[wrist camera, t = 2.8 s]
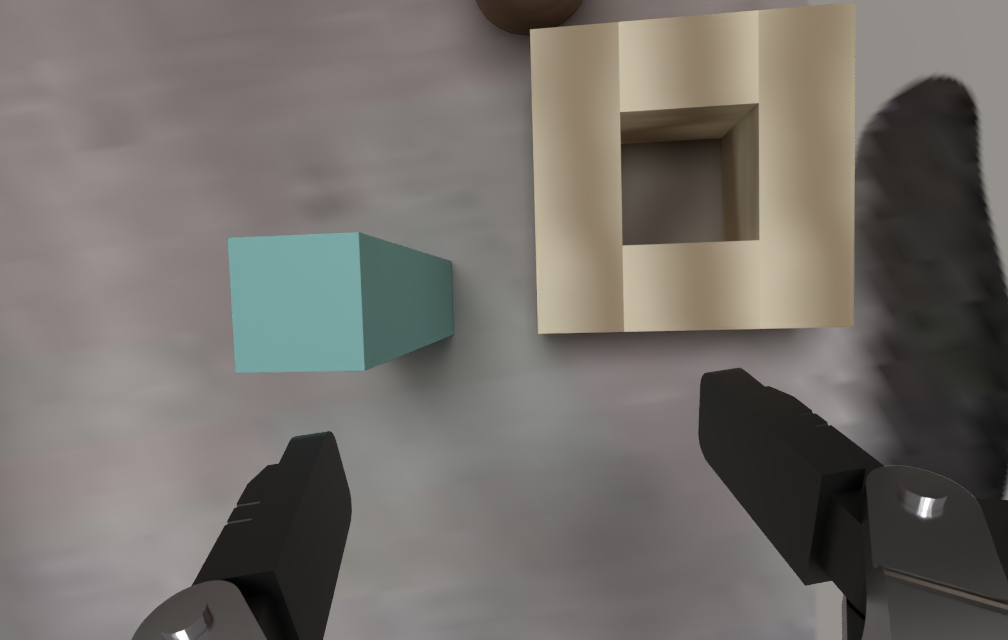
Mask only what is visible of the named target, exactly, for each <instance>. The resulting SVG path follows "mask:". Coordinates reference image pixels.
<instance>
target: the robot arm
mask: <svg viewBox="0 0 1008 640" xmlns="http://www.w3.org/2000/svg"><path fill="white" fill-rule="evenodd" d="M698 433H699V443H700V447H701V450H702V453H703V455H704V457H705V459H706V461H707V462H708V463H709V465H710V466H711V467H712V469H713V470H714V471H715V472H716V474H717V475H718V476H719V477H720V479H721V480H722V481H723V482H724V484H725V485H726V486H727V487H728V489H729V490H730V491H731V492H732V494H733V495H734V496H735V498H736V499H737V500H738V501H739V503H740V504H741V505H742V506H743V508H744V509H745V510H746V511H747V513H748V514H749V515H750V516H751V518H752V519H753V520H754V522H755V523H756V524H757V525H758V527H759V528H760V529H761V530H762V532H763V533H764V534H765V535H766V537H767V538H768V539H769V540H770V542H771V543H772V544H773V545H774V547H775V548H776V549H777V551H778V552H779V553H780V554H781V556H782V557H783V558H784V559H785V561H786V562H787V563H788V564H789V566H790V567H791V568H792V569H793V571H794V572H795V573H796V574H797V576H798V577H799V578H800V580H801V581H802V582H803V583H804V585H811V584H816V583H822V582H826V581H833V582H834V583H835V585H837V587H838V588H839V589H840V590H841V591H842V592H843V594H844V595H843V601H842V640H1008V500H995V499H980V498H975V497H974V496H973V495H972V494H971V493H969V492H968V491H967V490H966V489H964V488H963V487H962V486H960V485H958V484H957V483H955V482H953V481H951V480H949V479H947V478H945V477H943V476H941V475H938V474H935V473H933V472H929V471H926V470H923V469H918V468H914V467H907V466H884V465H882V464H881V463H880V462H879V461H877V460H876V459H875V458H873V457H872V456H871V455H869V454H868V453H867V452H865V451H864V450H863V449H862V448H860V447H859V446H858V445H856V444H855V443H854V442H852V441H851V440H850V439H848V438H847V437H846V436H845V435H843V434H842V433H841V432H839V431H838V430H837V429H835V428H834V427H833V426H831V425H830V426H828V424H827V422H826V421H825V420H824V419H822V418H821V417H820V416H818V415H817V414H816V413H815V414H813V413H812V410H811V409H809V408H808V407H807V406H805V405H804V404H803V403H801V402H800V401H799V400H797V399H796V398H795V397H793V396H791V395H789V394H786V393H784V392H782V391H779V390H777V389H775V388H772V387H770V386H767V387H765V386H763V385H762V384H761V383H760V382H758V381H757V380H756V379H755V378H753V377H752V376H751V375H750V374H748V373H747V372H746V371H745V370H743V369H741V368H734V369H728V370H721V371H715V372H708V373H705V374H704V375H703V376H702V379H701V384H700V407H699V431H698ZM351 513H352V507H351V495H350V490H349V487H348V483H347V479H346V476H345V472H344V468H343V465H342V461H341V457H340V454H339V450H338V446H337V443H336V439H335V437H334V435H333V433H332V432H330V431H328V432H322V433H315V434H309V435H302V436H295V437H293V438H292V439H291V440H290V442H289V444H288V446H287V448H286V450H285V452H284V454H283V456H282V458H281V460H280V462H279V464H274V465H267V466H266V467H265V468H264V469H263V470H262V471H261V472H260V473H259V474H258V475H257V476H256V477H255V478H254V479H253V480H251V481H250V482H249V483H248V484H247V486H246V488H245V490H244V492H243V493H242V495H241V497H240V499H239V501H238V503H237V508H234V510H233V512H232V513H231V515H230V517H229V519H228V521H227V522H228V524H227V525H225V526H224V528H223V530H222V532H221V534H220V535H219V537H218V539H217V541H216V543H215V544H214V546H213V548H212V550H211V552H210V554H209V555H208V557H207V559H206V561H205V563H204V564H203V566H202V568H201V570H200V572H199V574H198V575H197V577H196V579H195V581H194V583H193V584H192V586H191V587H189V588H186V589H184V590H182V591H181V592H179V593H177V594H175V595H174V596H172V597H170V598H169V599H167V600H166V601H165V602H163V603H162V604H161V605H159V606H158V607H157V608H156V609H155V610H154V611H153V612H152V613H151V614H150V615H149V616H148V617H147V618H146V619H145V620H144V621H143V622H142V624H141V625H140V626H139V628H138V629H137V631H136V632H135V634H134V636H133V638H132V640H323V637H324V633H325V629H326V625H327V620H328V616H329V612H330V608H331V603H332V599H333V595H334V590H335V586H336V582H337V578H338V573H339V569H340V565H341V561H342V556H343V552H344V548H345V544H346V539H347V535H348V531H349V527H350V522H351Z"/></svg>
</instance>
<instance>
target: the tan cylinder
mask: <svg viewBox="0 0 1008 640" xmlns="http://www.w3.org/2000/svg"><path fill="white" fill-rule="evenodd" d="M476 2H477V4H478V6H479V8H480V9H481V11H482V12H483V14H484V15H485V16H486V17H487V18H488V19H489V20H490V21H491V22H492V23H493V24H495V25H496V26H498V27H499V28H501V29H503V30H505V31H508V32H511V33H515V34H521V35H530V29H541V28H553V27H557V26H559V25H561V24H562V23H563V22H565V21H566V20H567V19H568V18H569V17H570V16H572V14H573V13H574V12H575V11H576V10H577V8H578V7H579V5H580V4H581V2H582V0H476Z"/></svg>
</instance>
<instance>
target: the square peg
mask: <svg viewBox="0 0 1008 640" xmlns="http://www.w3.org/2000/svg"><path fill="white" fill-rule="evenodd" d="M228 250H229V268H230V285H231V303H232V320H233V338H234V356H235V373H245V372H311V371H365V370H368V369H370V368H373V367H375V366H378V365H380V364H382V363H385V362H387V361H390V360H392V359H395V358H397V357H400V356H402V355H405V354H407V353H409V352H412V351H414V350H417V349H419V348H422V347H424V346H427V345H429V344H432V343H434V342H437V341H439V340H441V339H444V338H446V337H449V336H451V335H454V327H453V298H452V270H451V261H449V260H446V259H442V258H439V257H436V256H433V255H430V254H427V253H423V252H420V251H417V250H414V249H411V248H407V247H404V246H401V245H398V244H395V243H391V242H388V241H385V240H382V239H379V238H375V237H372V236H369V235H366V234H363V233H359V232H354V233H331V234H308V235H286V236H263V237H240V238H228Z"/></svg>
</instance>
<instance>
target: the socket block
mask: <svg viewBox="0 0 1008 640" xmlns="http://www.w3.org/2000/svg"><path fill="white" fill-rule="evenodd" d="M530 48H531V85H532V123H533V160H534V198H535V235H536V273H537V311H538V334H550V333H595V332H641V331H687V330H732V329H778V328H823V327H854V171H855V2H852V3H840V4H828V5H816V6H804V7H792V8H780V9H768V10H757V11H745V12H733V13H721V14H709V15H697V16H685V17H673V18H661V19H649V20H637V21H625V22H613V23H601V24H589V25H577V26H565V27H553V28H541V29H530Z"/></svg>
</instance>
